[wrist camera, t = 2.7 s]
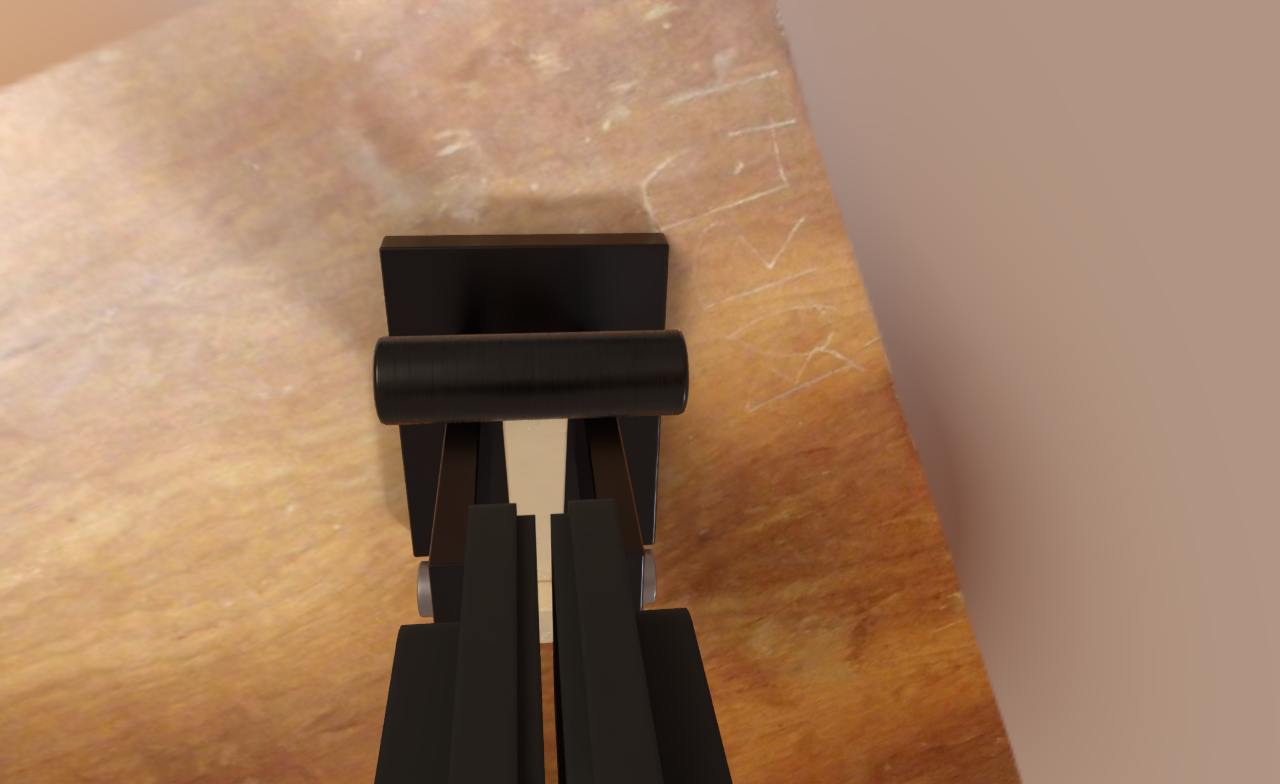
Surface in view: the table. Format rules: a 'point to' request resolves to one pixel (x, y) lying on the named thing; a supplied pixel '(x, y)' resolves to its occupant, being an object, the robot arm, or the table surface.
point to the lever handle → (531, 401)
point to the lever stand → (474, 451)
